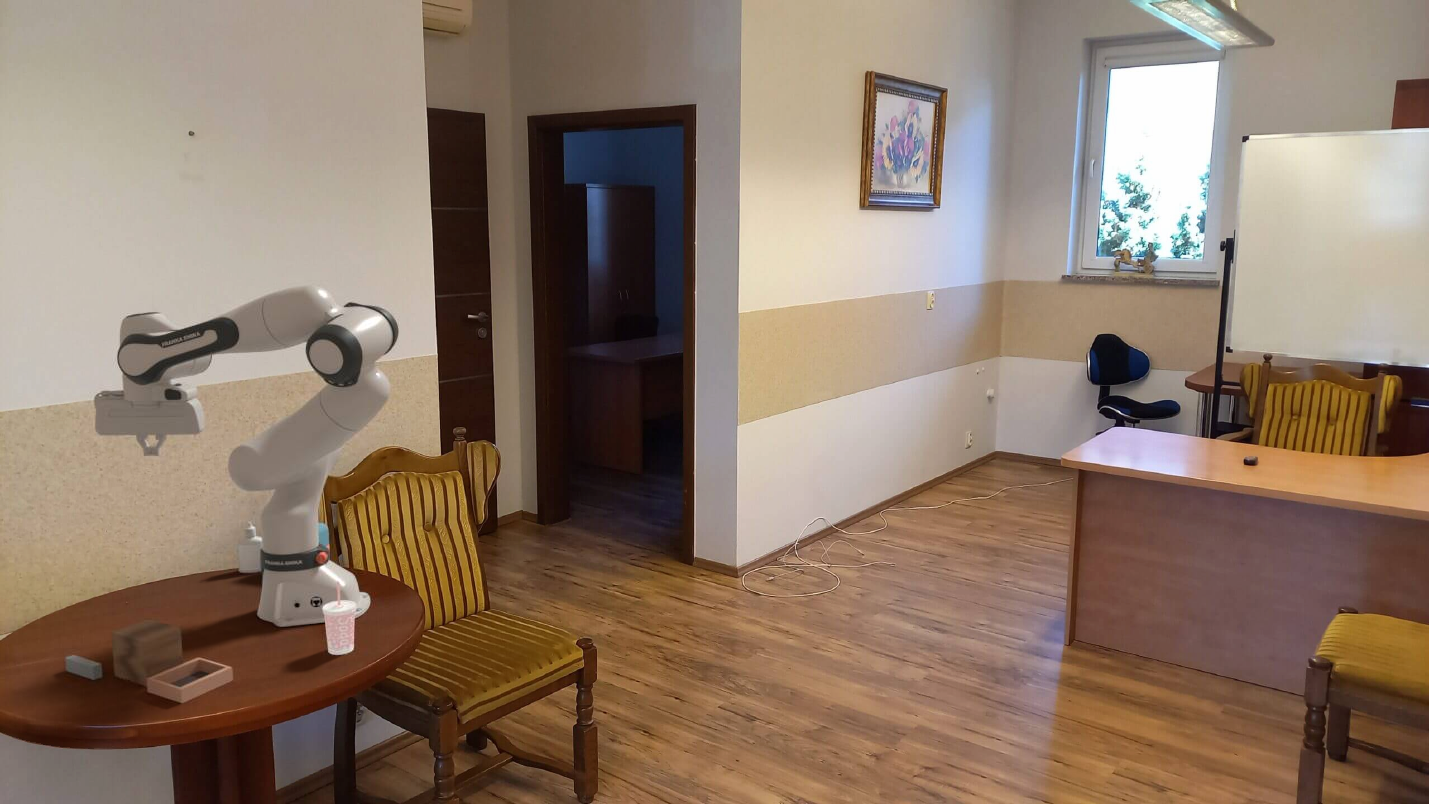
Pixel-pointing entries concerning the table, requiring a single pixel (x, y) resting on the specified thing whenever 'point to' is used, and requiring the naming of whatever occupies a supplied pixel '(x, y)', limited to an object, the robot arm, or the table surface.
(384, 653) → the table surface
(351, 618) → the beverage cup
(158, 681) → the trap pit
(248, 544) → the eye dropper bottle
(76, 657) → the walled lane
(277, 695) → the table surface
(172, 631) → the walnut block
